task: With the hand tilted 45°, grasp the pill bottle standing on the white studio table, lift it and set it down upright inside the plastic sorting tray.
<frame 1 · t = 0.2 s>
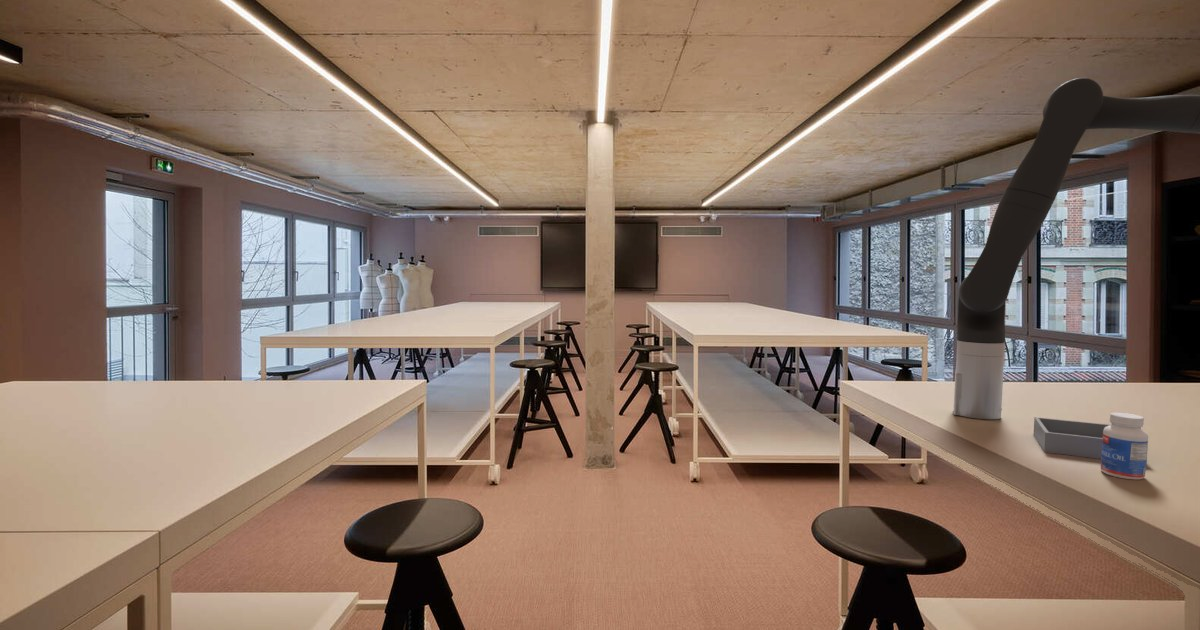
pill bottle: (1122, 475, 94), on the table
sorting tray: (1085, 448, 109), on the table
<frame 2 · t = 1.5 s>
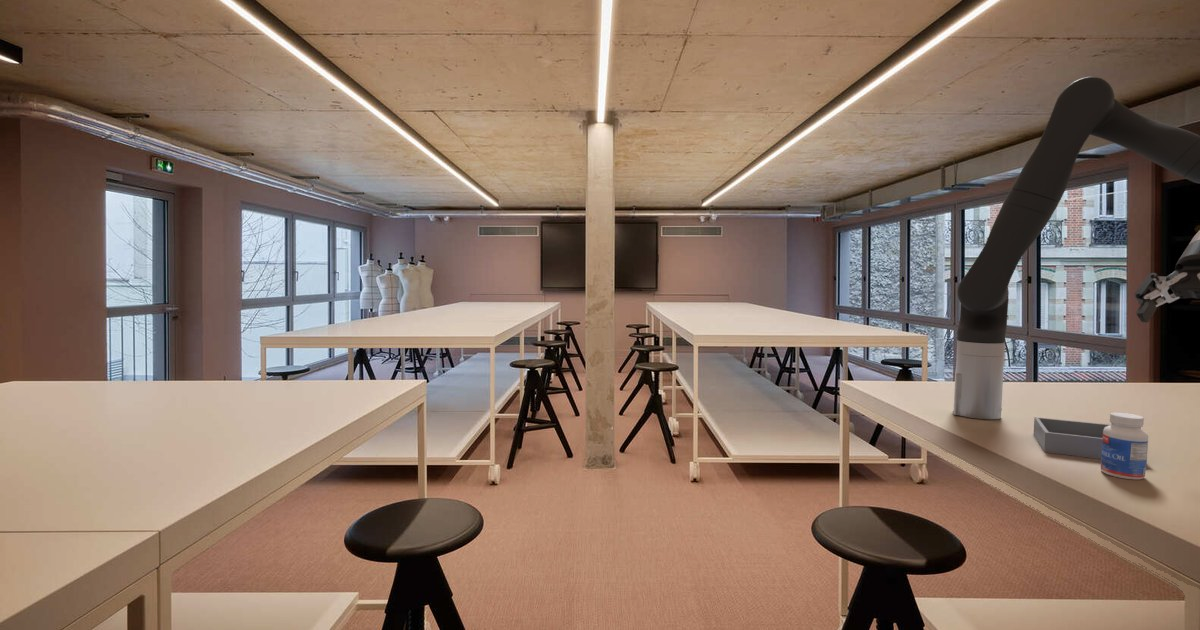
hand: (1172, 320, 99), 25 cm above the table, tool tilted 45°, fingers open, 8 cm apart
nothing on the table moved.
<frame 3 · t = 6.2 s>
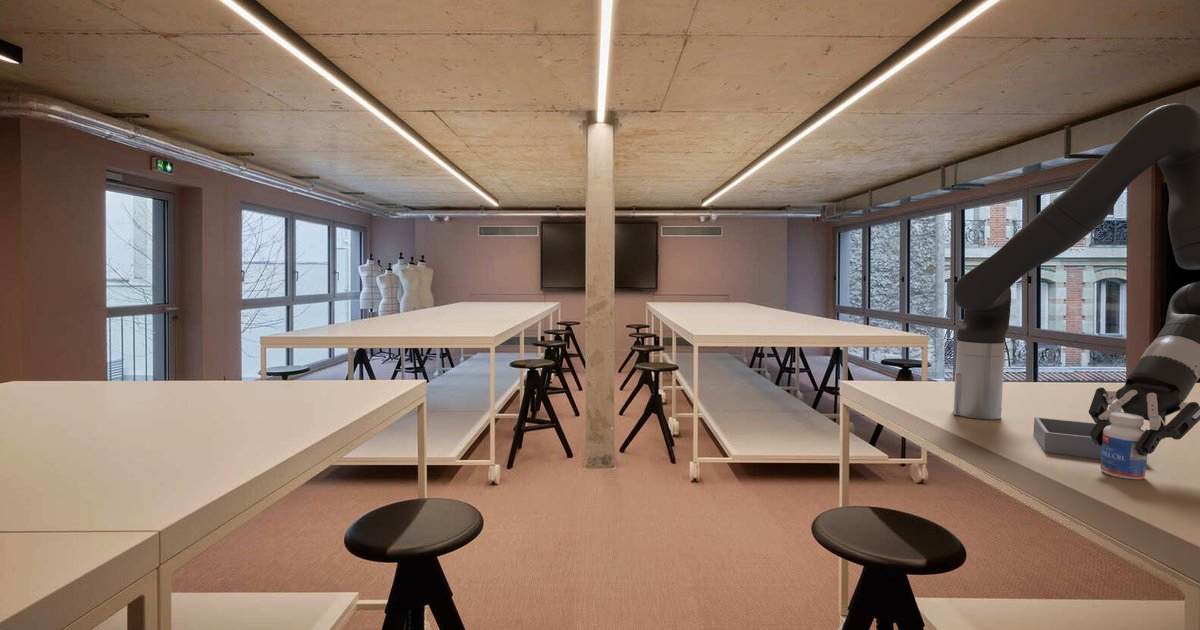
hand: (1117, 446, 93), 5 cm above the table, tool tilted 45°, fingers closed on pill bottle, 5 cm apart
pill bottle: (1122, 475, 94), on the table, touching gripper
when the fingers open (7 cm above the table, at t = 11.1 s): pill bottle drops 2 cm, resting on sorting tray.
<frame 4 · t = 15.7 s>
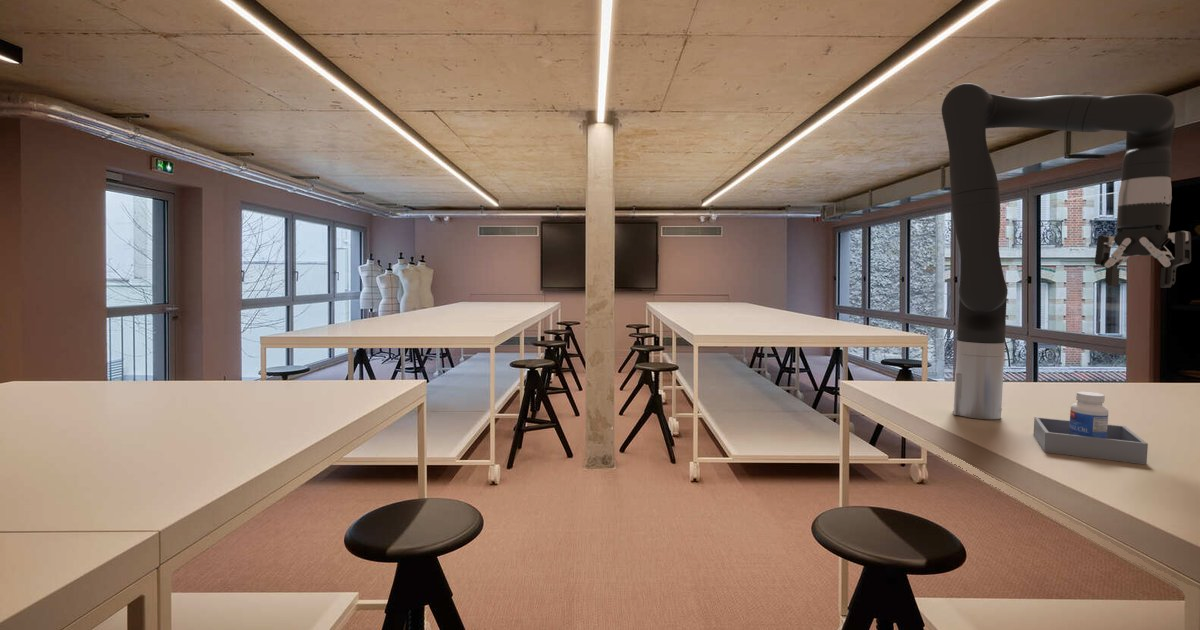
hand: (1138, 287, 114), 30 cm above the table, tool pointing down, fingers open, 8 cm apart
pill bottle: (1086, 446, 109), resting on sorting tray
at the end: pill bottle inside the target area on the sorting tray (0.3 cm from its centre), point 0.4 cm above the sorting tray's base; pill bottle tilted 0°; the gripper is holding nothing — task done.
